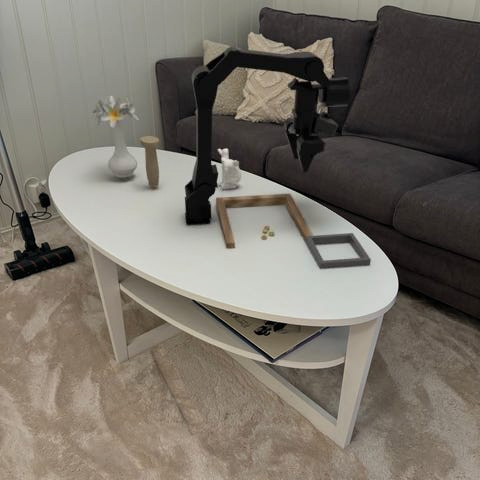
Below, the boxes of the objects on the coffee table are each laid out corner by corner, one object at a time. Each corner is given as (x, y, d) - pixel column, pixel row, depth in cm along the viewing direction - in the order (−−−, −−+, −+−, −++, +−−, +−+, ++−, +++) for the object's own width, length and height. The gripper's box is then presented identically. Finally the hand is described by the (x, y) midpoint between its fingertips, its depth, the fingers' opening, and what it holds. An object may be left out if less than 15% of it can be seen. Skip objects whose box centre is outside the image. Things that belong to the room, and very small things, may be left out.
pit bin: (319, 274, 108) (320, 263, 107) (305, 246, 118) (306, 236, 117) (368, 270, 110) (370, 259, 108) (351, 243, 120) (352, 233, 118)
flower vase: (130, 160, 165) (122, 87, 152) (151, 179, 151) (144, 101, 138) (94, 167, 159) (82, 92, 146) (112, 188, 145) (100, 107, 132)
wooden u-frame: (226, 252, 116) (226, 243, 114) (216, 205, 137) (216, 197, 135) (313, 245, 119) (314, 237, 117) (289, 201, 140) (290, 193, 138)
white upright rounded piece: (211, 185, 148) (210, 149, 142) (228, 179, 152) (228, 144, 146) (228, 194, 143) (228, 157, 136) (245, 188, 146) (245, 152, 140)
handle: (151, 190, 144) (147, 144, 136) (142, 183, 149) (137, 138, 141) (165, 187, 147) (162, 140, 139) (156, 180, 151) (151, 134, 143)
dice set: (267, 231, 126) (267, 225, 125) (278, 239, 122) (279, 233, 121) (251, 236, 123) (251, 230, 122) (262, 245, 120) (262, 238, 119)
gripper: (349, 117, 110) (341, 178, 118) (325, 96, 126) (319, 151, 134) (303, 118, 109) (298, 180, 117) (285, 97, 124) (281, 153, 133)
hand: (300, 165), depth 125 cm, fingers open, 9 cm apart
